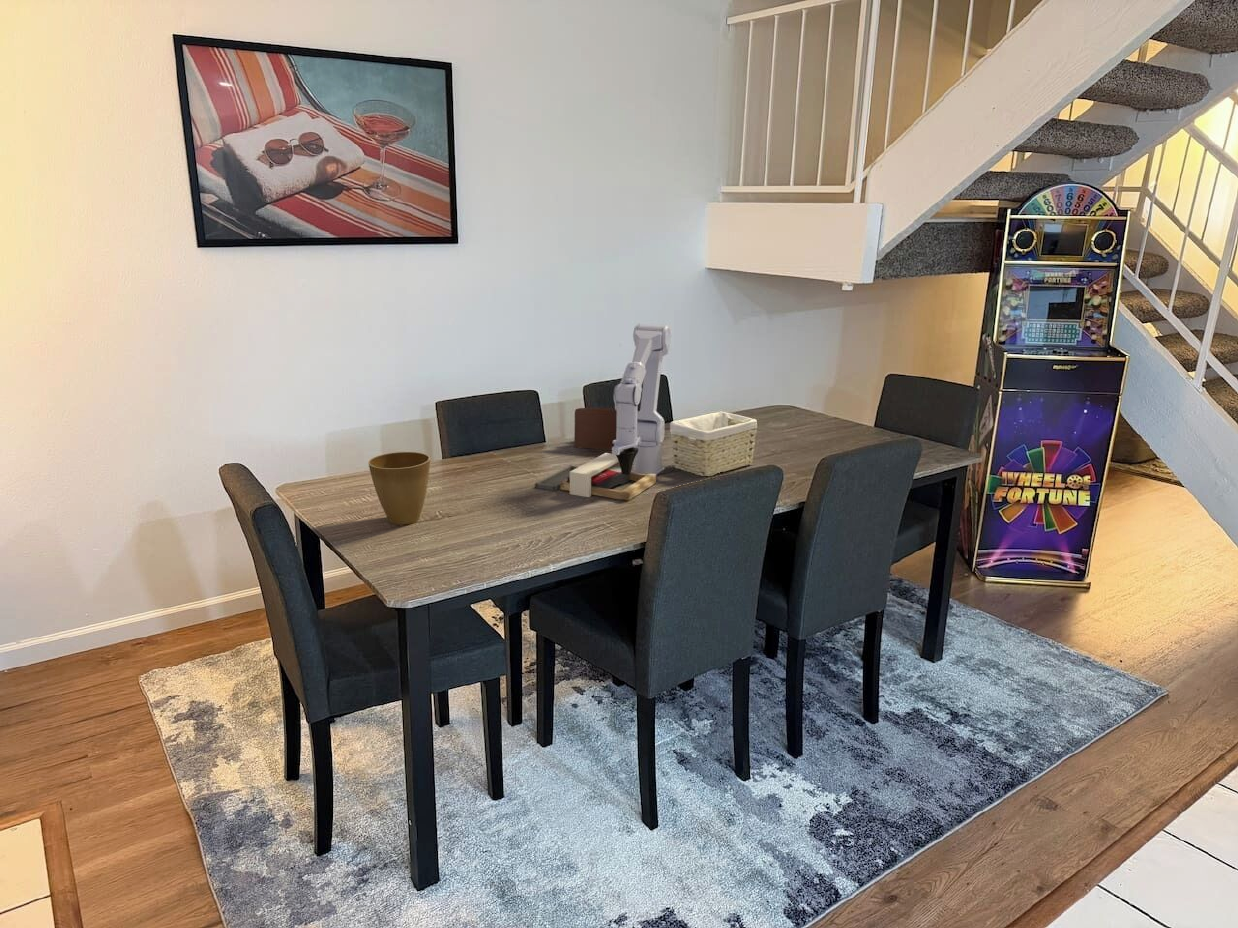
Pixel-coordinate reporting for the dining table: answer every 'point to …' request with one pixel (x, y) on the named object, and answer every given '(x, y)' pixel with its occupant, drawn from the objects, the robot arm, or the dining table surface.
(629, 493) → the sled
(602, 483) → the calculator
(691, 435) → the storage basket
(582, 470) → the tunnel
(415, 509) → the plant pot
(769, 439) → the dining table surface
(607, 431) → the letter holder
